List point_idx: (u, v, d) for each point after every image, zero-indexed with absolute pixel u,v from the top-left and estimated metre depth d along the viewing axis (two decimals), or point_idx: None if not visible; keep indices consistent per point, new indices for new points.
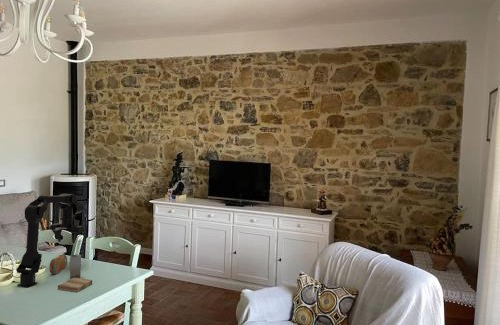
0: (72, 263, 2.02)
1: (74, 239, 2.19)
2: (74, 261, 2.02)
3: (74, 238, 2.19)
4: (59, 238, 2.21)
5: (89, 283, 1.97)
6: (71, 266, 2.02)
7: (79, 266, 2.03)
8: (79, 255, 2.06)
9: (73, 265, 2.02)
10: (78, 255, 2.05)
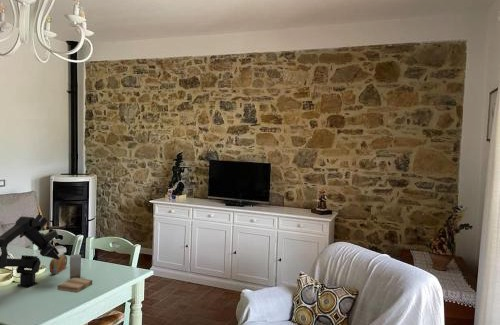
0: (72, 263, 2.02)
1: (54, 257, 1.95)
2: (74, 261, 2.02)
3: (52, 256, 1.94)
4: (55, 252, 2.04)
5: (89, 283, 1.97)
6: (71, 266, 2.02)
7: (79, 266, 2.03)
8: (79, 255, 2.06)
9: (73, 265, 2.02)
10: (78, 255, 2.05)
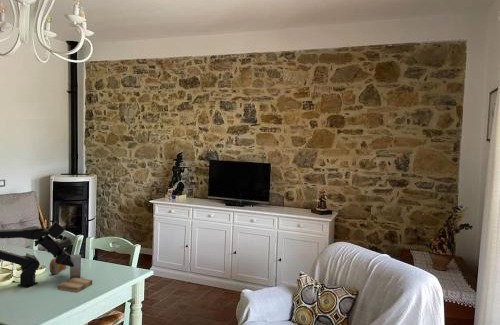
0: None
1: (68, 264, 1.98)
2: (74, 261, 2.02)
3: (67, 264, 1.98)
4: (69, 259, 2.07)
5: (89, 283, 1.97)
6: None
7: (79, 266, 2.03)
8: (79, 255, 2.06)
9: None
10: (78, 255, 2.05)
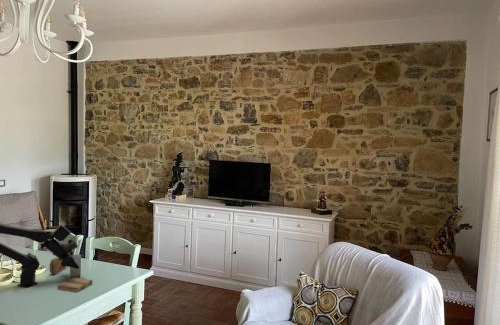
0: None
1: (74, 266, 2.01)
2: None
3: (72, 266, 2.01)
4: None
5: (89, 283, 1.97)
6: None
7: (79, 266, 2.03)
8: (79, 255, 2.06)
9: None
10: (78, 255, 2.05)
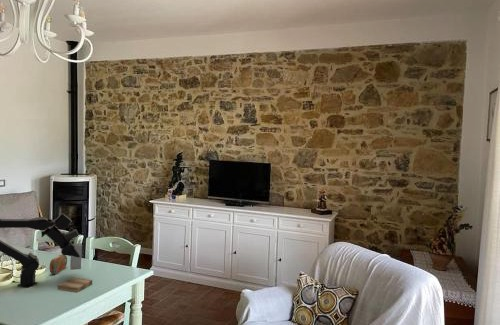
0: None
1: (74, 255, 2.00)
2: None
3: (73, 254, 2.00)
4: None
5: (89, 283, 1.97)
6: None
7: (80, 255, 2.02)
8: (80, 244, 2.05)
9: None
10: (79, 244, 2.04)
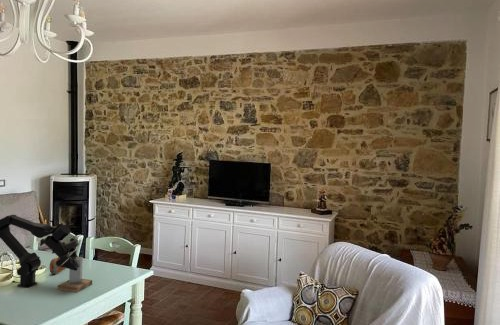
0: None
1: (71, 268, 1.89)
2: (74, 264, 1.92)
3: (70, 267, 1.88)
4: None
5: (89, 283, 1.97)
6: (70, 269, 1.92)
7: (78, 269, 1.92)
8: (80, 258, 1.95)
9: None
10: (79, 258, 1.95)
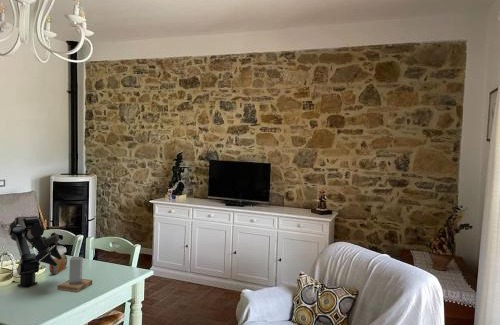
0: (71, 266, 1.92)
1: (51, 263, 1.87)
2: (74, 264, 1.92)
3: (49, 262, 1.87)
4: (57, 256, 1.97)
5: (89, 283, 1.97)
6: (70, 269, 1.92)
7: (78, 269, 1.92)
8: (80, 258, 1.95)
9: (72, 268, 1.92)
10: (79, 258, 1.95)
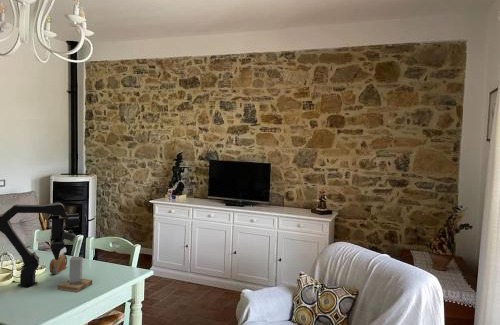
0: (71, 266, 1.92)
1: (55, 255, 1.94)
2: (74, 264, 1.92)
3: (55, 254, 1.93)
4: None
5: (89, 283, 1.97)
6: (70, 269, 1.92)
7: (78, 269, 1.92)
8: (80, 258, 1.95)
9: (72, 268, 1.92)
10: (79, 258, 1.95)
